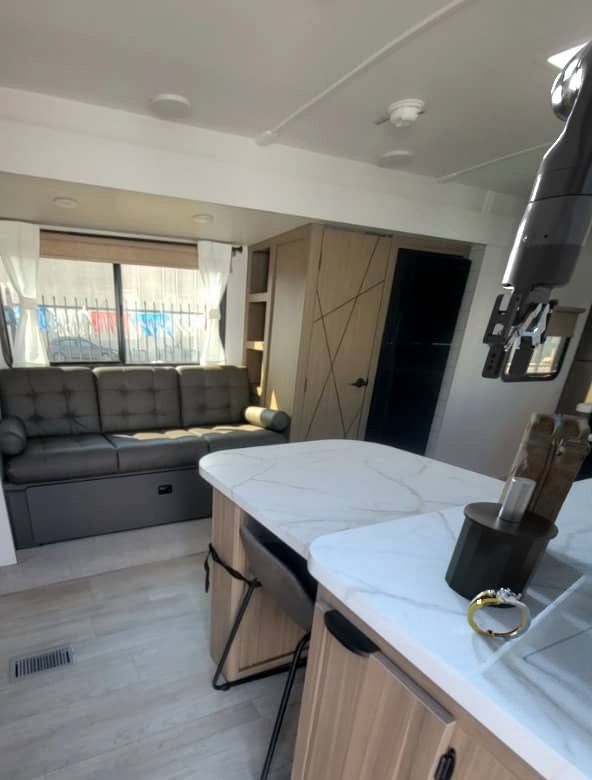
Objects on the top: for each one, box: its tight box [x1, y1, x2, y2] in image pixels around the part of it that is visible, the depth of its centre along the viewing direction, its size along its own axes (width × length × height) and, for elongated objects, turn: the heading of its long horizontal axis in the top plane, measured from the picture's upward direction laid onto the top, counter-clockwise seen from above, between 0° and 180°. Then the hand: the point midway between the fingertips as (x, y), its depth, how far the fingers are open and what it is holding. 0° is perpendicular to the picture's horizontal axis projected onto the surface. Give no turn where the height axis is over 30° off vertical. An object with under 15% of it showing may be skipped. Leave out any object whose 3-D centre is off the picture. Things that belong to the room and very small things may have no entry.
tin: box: [444, 516, 551, 610], centre depth 63 cm, size 11×11×12 cm
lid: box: [462, 477, 560, 541], centre depth 59 cm, size 12×12×7 cm
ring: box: [466, 587, 532, 642], centre depth 54 cm, size 7×3×8 cm, turn 62°
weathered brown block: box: [497, 411, 592, 525], centre depth 72 cm, size 19×8×25 cm, turn 143°
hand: (503, 376), depth 59 cm, fingers open, 8 cm apart
